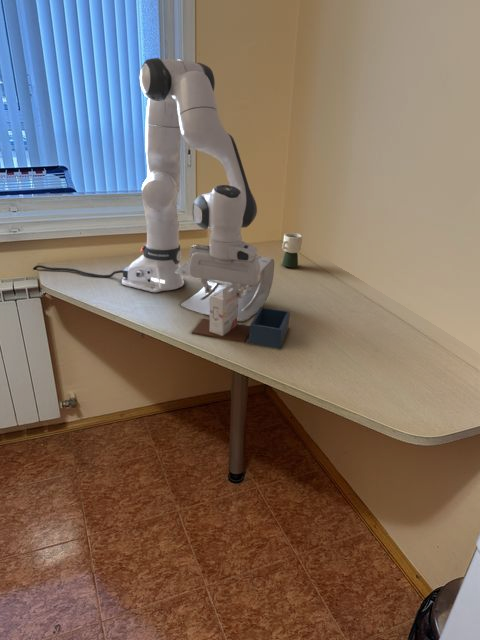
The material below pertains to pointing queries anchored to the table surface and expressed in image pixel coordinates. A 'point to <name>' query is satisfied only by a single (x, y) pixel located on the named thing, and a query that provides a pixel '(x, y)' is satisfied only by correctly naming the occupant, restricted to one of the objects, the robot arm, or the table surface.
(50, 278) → the table surface
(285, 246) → the character mug
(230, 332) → the cork mat
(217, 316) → the ink cartridge box
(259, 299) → the laptop stand
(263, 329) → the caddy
